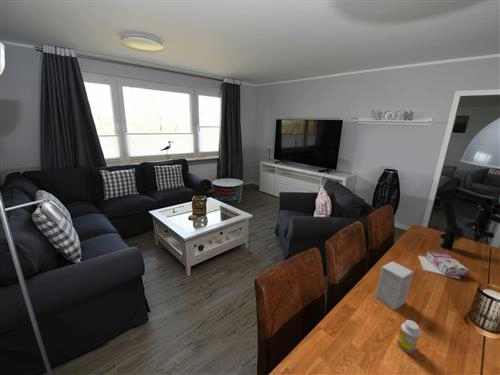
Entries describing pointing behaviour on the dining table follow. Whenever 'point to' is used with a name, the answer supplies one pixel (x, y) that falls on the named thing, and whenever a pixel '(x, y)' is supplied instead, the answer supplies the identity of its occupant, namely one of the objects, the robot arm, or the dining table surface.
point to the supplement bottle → (408, 336)
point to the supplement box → (393, 284)
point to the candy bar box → (446, 264)
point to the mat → (432, 267)
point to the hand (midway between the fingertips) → (475, 241)
